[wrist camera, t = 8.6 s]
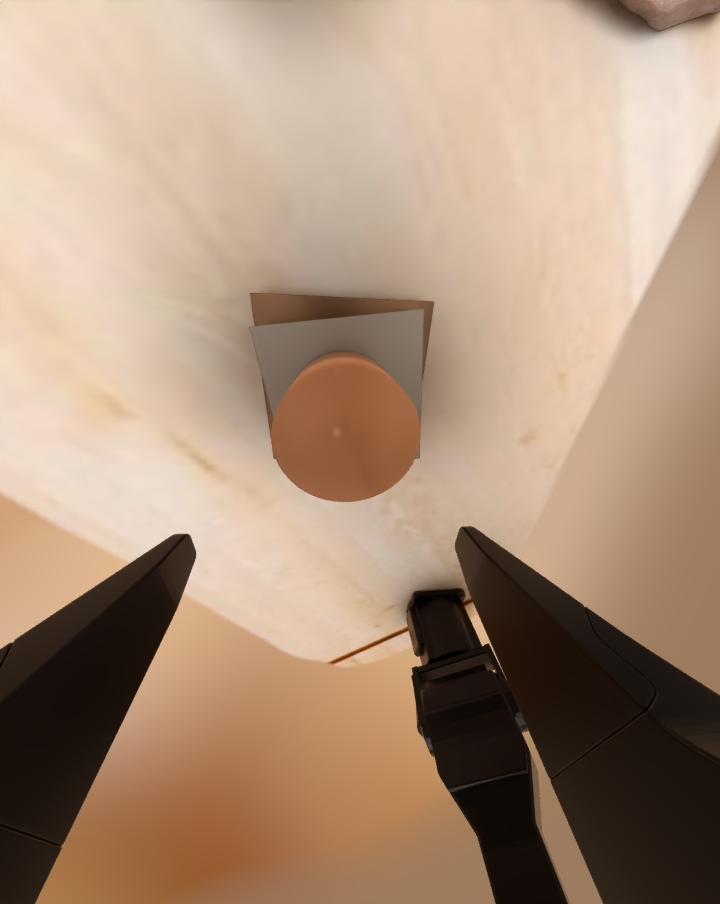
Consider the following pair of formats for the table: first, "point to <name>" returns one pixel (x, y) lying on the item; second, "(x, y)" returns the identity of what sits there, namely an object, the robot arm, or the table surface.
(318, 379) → the cylinder
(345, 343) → the top slab
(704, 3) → the stone block
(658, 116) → the table surface
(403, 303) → the base slab
